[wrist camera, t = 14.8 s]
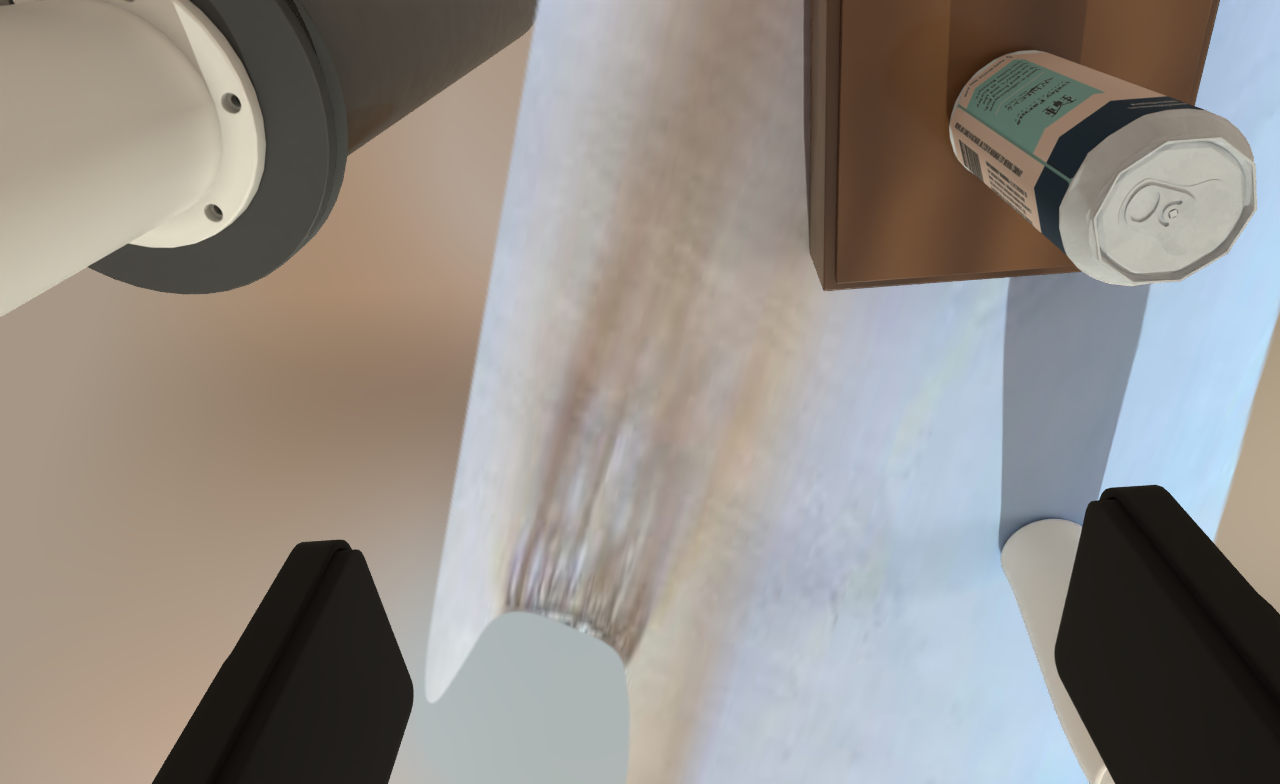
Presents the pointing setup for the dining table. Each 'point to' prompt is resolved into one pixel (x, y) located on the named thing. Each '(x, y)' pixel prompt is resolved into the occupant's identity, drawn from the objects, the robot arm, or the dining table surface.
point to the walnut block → (920, 119)
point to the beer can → (1106, 166)
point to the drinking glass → (1050, 618)
